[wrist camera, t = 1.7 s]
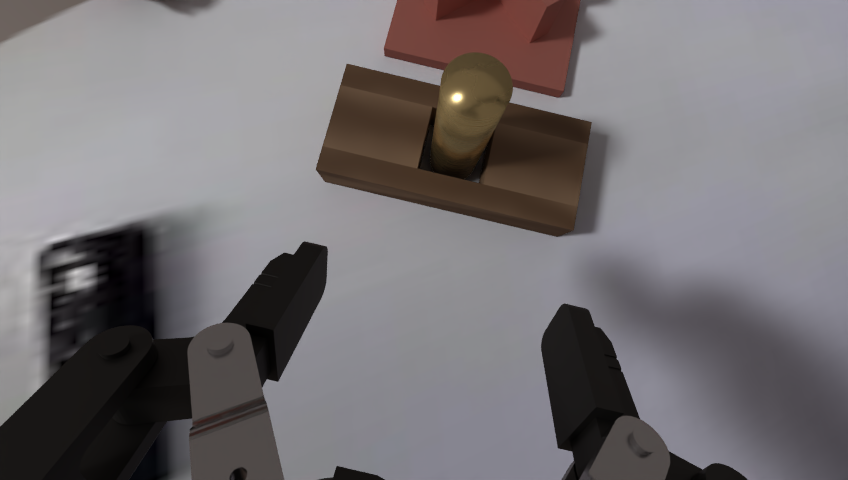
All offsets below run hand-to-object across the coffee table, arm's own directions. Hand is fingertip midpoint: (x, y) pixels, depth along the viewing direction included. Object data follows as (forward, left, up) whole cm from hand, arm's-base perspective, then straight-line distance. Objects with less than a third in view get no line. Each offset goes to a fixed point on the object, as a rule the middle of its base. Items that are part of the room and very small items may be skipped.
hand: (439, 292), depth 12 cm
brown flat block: (-10, -5, -17) cm, 20 cm away
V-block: (-22, -11, -17) cm, 30 cm away
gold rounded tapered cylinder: (-10, -5, -17) cm, 21 cm away
